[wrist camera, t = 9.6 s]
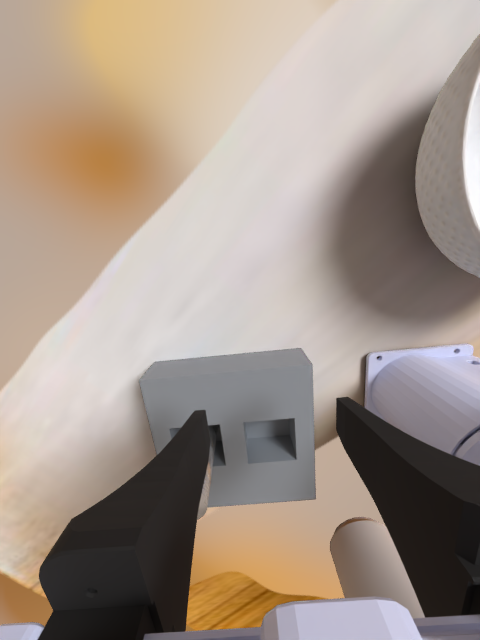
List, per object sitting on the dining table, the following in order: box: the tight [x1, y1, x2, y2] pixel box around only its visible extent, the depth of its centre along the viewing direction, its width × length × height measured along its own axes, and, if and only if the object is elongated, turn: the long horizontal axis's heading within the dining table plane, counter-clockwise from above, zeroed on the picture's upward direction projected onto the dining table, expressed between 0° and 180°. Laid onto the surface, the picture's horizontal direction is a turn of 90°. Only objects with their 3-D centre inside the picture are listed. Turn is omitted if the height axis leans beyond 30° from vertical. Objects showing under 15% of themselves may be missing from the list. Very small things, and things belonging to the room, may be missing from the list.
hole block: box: [139, 348, 316, 507], centre depth 22 cm, size 14×14×4 cm
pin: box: [197, 425, 218, 520], centre depth 19 cm, size 3×3×8 cm
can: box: [330, 517, 425, 618], centre depth 22 cm, size 8×8×12 cm
